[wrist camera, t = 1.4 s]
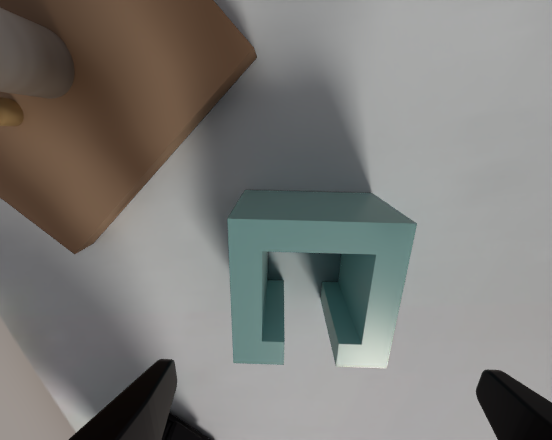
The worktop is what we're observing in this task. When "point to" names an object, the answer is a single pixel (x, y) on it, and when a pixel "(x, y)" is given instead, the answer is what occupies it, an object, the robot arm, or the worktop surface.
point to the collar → (334, 295)
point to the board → (103, 101)
